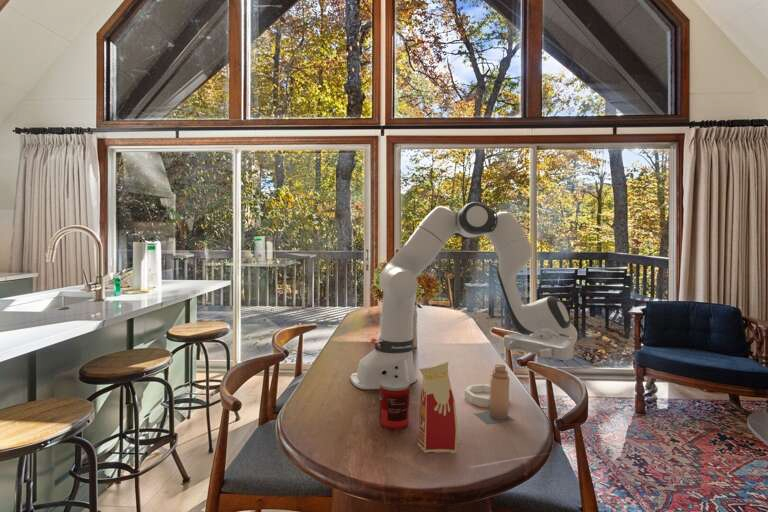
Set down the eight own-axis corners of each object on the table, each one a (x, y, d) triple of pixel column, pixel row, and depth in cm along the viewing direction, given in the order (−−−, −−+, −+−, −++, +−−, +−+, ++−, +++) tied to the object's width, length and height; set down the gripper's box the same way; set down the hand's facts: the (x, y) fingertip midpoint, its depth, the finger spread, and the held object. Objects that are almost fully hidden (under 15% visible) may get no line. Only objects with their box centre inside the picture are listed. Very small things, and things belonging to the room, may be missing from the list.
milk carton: (450, 434, 108) (452, 356, 107) (458, 453, 99) (460, 367, 97) (414, 434, 108) (416, 355, 106) (418, 453, 98) (420, 367, 97)
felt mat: (487, 425, 113) (487, 424, 113) (473, 414, 120) (473, 413, 120) (514, 421, 116) (514, 420, 116) (500, 410, 122) (500, 409, 122)
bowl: (478, 410, 123) (479, 400, 123) (459, 395, 134) (459, 386, 134) (514, 405, 126) (514, 396, 126) (492, 391, 138) (492, 382, 137)
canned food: (391, 414, 119) (391, 375, 118) (414, 423, 114) (415, 382, 113) (373, 423, 113) (373, 382, 112) (397, 433, 108) (397, 390, 107)
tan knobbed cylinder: (495, 421, 115) (497, 369, 114) (485, 413, 120) (487, 364, 119) (511, 418, 117) (513, 368, 116) (501, 411, 121) (502, 362, 121)
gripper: (516, 326, 143) (493, 333, 133) (578, 338, 128) (557, 346, 118) (515, 345, 143) (492, 353, 133) (578, 359, 128) (557, 369, 119)
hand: (523, 350), depth 126 cm, fingers open, 8 cm apart
